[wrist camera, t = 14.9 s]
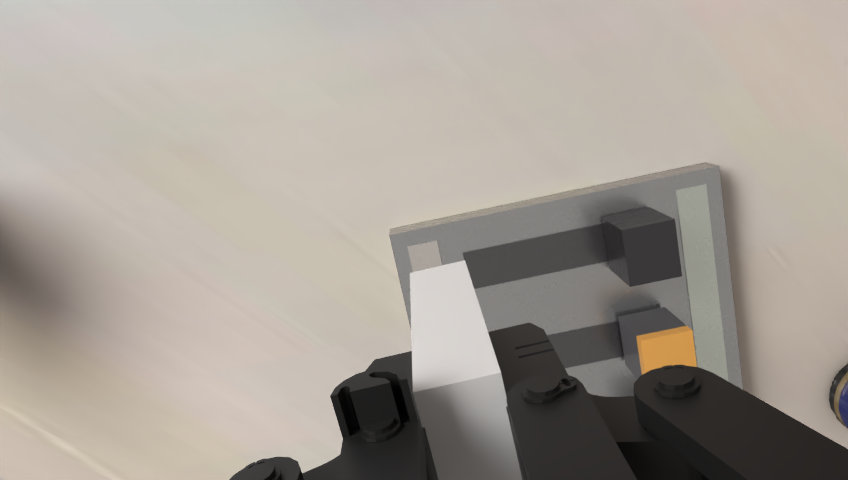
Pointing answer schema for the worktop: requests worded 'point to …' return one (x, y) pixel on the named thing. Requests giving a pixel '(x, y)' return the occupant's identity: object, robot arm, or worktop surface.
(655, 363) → the block
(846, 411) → the pill bottle
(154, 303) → the worktop surface
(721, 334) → the panel
